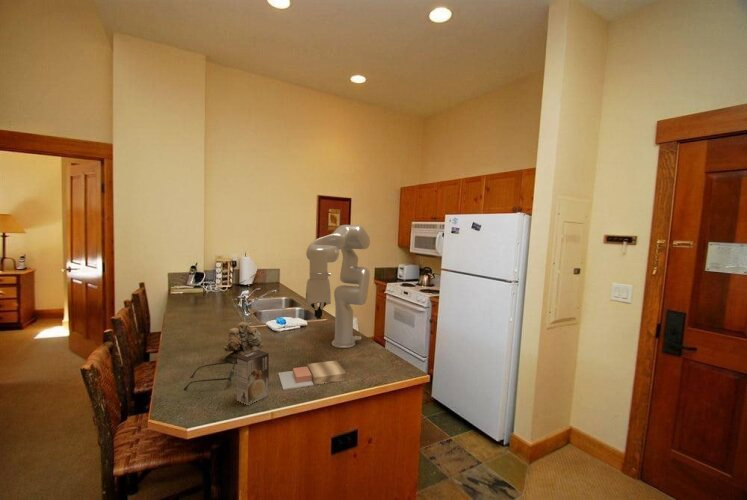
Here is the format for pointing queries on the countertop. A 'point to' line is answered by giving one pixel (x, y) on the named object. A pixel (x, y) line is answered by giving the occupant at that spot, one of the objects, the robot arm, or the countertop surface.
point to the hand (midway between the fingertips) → (318, 318)
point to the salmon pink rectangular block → (302, 374)
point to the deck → (326, 372)
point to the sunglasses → (215, 379)
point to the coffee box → (252, 377)
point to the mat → (291, 381)
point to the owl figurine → (242, 341)
